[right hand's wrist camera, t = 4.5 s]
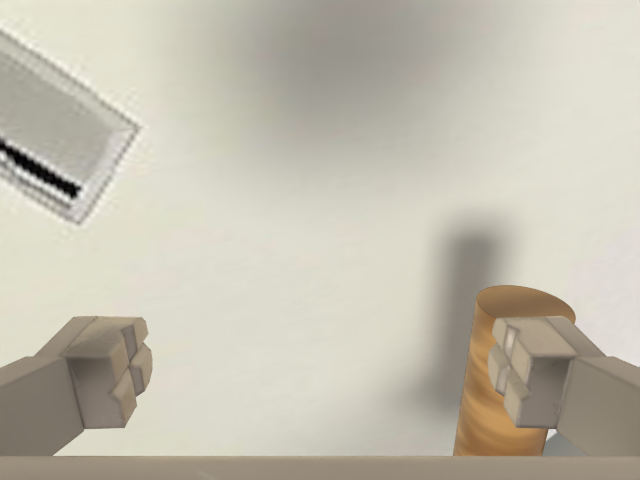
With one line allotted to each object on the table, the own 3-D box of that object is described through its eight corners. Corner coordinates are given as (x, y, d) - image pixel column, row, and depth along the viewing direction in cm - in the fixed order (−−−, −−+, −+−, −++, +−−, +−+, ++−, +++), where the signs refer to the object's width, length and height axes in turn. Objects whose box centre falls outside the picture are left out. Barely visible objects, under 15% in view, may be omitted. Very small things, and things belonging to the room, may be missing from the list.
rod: (464, 284, 32) (496, 330, 26) (547, 284, 32) (596, 331, 26) (435, 502, 40) (454, 573, 34) (501, 502, 40) (531, 573, 34)
